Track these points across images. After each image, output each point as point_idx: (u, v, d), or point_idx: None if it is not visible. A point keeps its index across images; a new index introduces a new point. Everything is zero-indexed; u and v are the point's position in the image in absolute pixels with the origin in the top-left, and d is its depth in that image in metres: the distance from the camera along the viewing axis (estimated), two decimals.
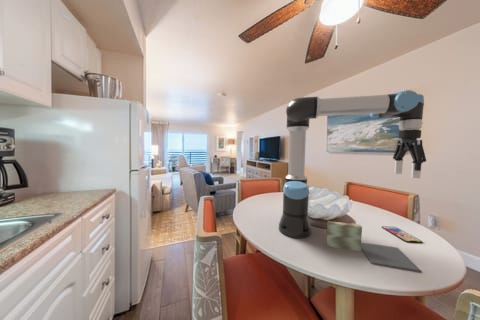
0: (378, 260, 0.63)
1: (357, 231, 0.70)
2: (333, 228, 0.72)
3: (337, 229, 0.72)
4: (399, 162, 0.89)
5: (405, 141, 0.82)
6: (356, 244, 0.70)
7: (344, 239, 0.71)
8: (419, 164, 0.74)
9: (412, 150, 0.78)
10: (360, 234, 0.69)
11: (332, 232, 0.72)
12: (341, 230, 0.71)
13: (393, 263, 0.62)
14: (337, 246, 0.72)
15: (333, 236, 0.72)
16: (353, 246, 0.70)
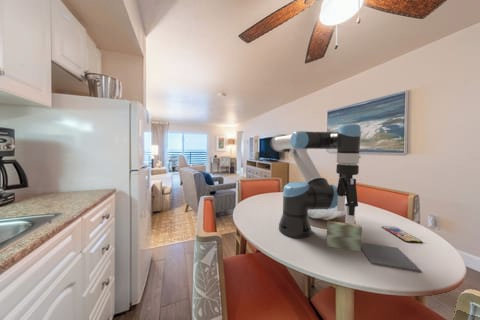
0: (378, 260, 0.63)
1: (357, 231, 0.70)
2: (333, 228, 0.72)
3: (337, 229, 0.72)
4: (341, 198, 0.77)
5: (343, 176, 0.71)
6: (356, 244, 0.70)
7: (344, 239, 0.71)
8: (352, 208, 0.63)
9: (346, 190, 0.66)
10: (360, 234, 0.69)
11: (332, 232, 0.72)
12: (341, 230, 0.71)
13: (393, 263, 0.62)
14: (337, 246, 0.72)
15: (333, 236, 0.72)
16: (353, 246, 0.70)
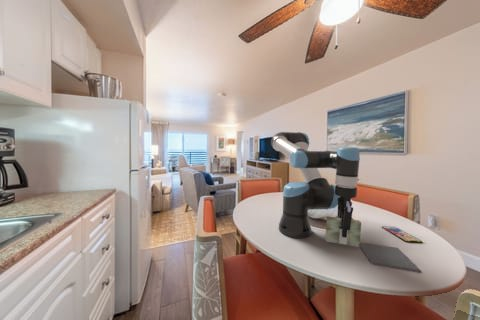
0: (378, 260, 0.63)
1: (356, 226, 0.70)
2: (332, 223, 0.73)
3: (336, 224, 0.72)
4: None
5: None
6: (355, 239, 0.71)
7: None
8: (345, 231, 0.70)
9: (342, 214, 0.70)
10: (359, 229, 0.70)
11: (331, 227, 0.73)
12: (340, 225, 0.72)
13: (393, 263, 0.62)
14: (336, 241, 0.73)
15: (332, 231, 0.73)
16: (352, 241, 0.71)
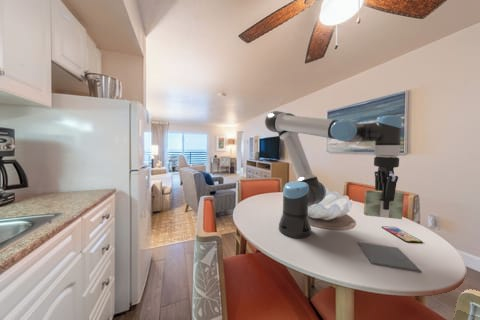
0: (378, 260, 0.63)
1: (399, 198, 0.67)
2: (372, 196, 0.70)
3: (377, 197, 0.69)
4: None
5: None
6: (397, 212, 0.68)
7: None
8: (387, 203, 0.67)
9: (384, 185, 0.67)
10: (402, 201, 0.67)
11: (371, 200, 0.70)
12: (381, 198, 0.69)
13: (393, 263, 0.62)
14: (376, 214, 0.70)
15: (372, 204, 0.70)
16: (394, 214, 0.68)
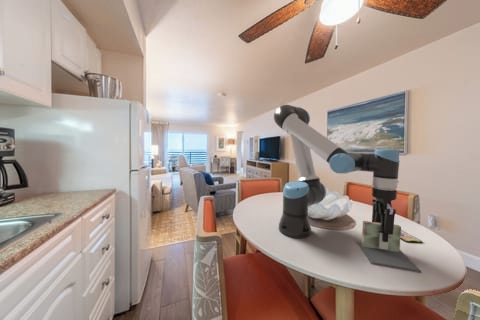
0: (378, 260, 0.63)
1: (396, 231, 0.68)
2: (370, 228, 0.71)
3: (374, 229, 0.70)
4: None
5: None
6: (394, 244, 0.69)
7: None
8: (386, 235, 0.67)
9: (382, 217, 0.68)
10: (399, 234, 0.68)
11: (369, 232, 0.71)
12: (379, 230, 0.70)
13: (393, 263, 0.62)
14: (374, 246, 0.71)
15: (370, 236, 0.71)
16: (391, 246, 0.69)
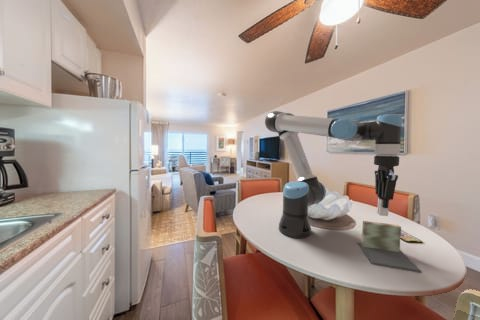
0: (378, 260, 0.63)
1: (396, 231, 0.68)
2: (370, 228, 0.71)
3: (374, 229, 0.70)
4: None
5: None
6: (394, 244, 0.69)
7: (382, 240, 0.70)
8: (386, 201, 0.68)
9: (384, 184, 0.68)
10: (399, 234, 0.68)
11: (369, 232, 0.71)
12: (379, 230, 0.70)
13: (393, 263, 0.62)
14: (374, 246, 0.71)
15: (370, 236, 0.71)
16: (391, 246, 0.69)
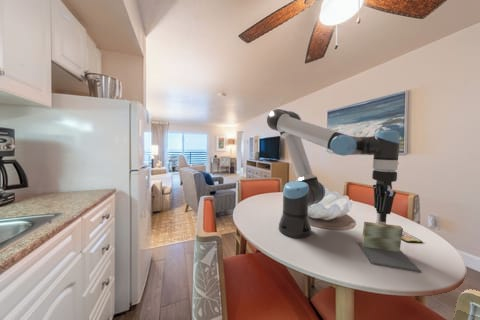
0: (378, 260, 0.63)
1: (397, 233, 0.67)
2: (371, 229, 0.70)
3: (375, 230, 0.70)
4: None
5: None
6: (395, 245, 0.68)
7: (382, 240, 0.69)
8: (384, 215, 0.69)
9: (382, 199, 0.69)
10: (400, 236, 0.67)
11: (370, 233, 0.70)
12: (380, 231, 0.69)
13: (393, 263, 0.62)
14: (374, 246, 0.71)
15: (370, 237, 0.71)
16: (391, 247, 0.69)
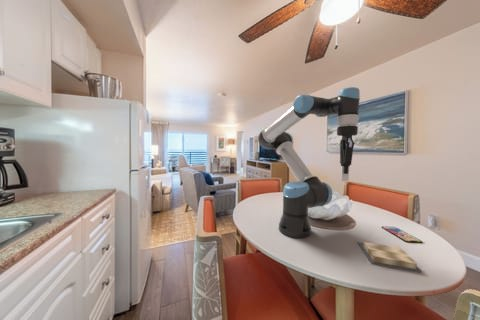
0: None
1: None
2: None
3: None
4: None
5: (343, 135, 0.77)
6: None
7: None
8: (346, 167, 0.75)
9: (344, 152, 0.75)
10: None
11: None
12: None
13: None
14: None
15: None
16: None
